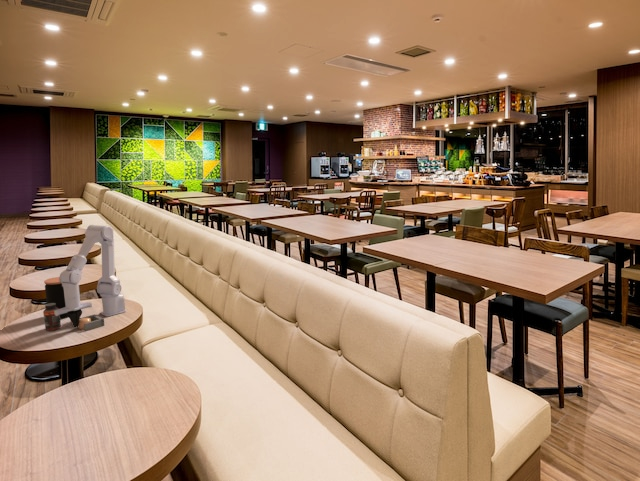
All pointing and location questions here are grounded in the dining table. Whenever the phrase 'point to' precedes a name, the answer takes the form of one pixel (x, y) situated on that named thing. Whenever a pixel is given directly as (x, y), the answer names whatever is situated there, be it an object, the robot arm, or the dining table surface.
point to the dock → (93, 322)
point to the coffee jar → (55, 293)
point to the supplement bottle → (51, 317)
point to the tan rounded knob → (82, 321)
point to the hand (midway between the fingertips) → (75, 326)
